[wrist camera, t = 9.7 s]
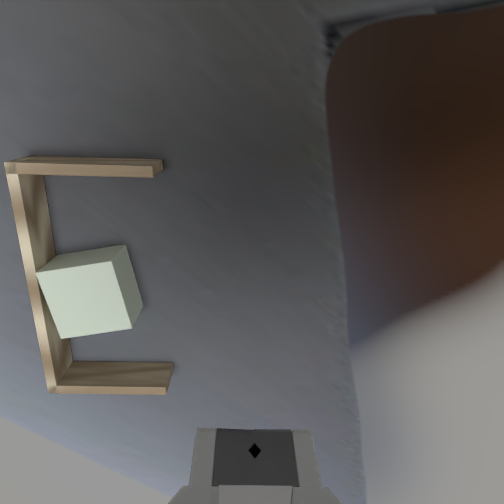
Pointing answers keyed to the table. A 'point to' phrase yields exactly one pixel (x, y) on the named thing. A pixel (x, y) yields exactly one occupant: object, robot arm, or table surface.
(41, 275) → the sage block
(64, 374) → the wooden u-shaped bracket
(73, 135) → the table surface
